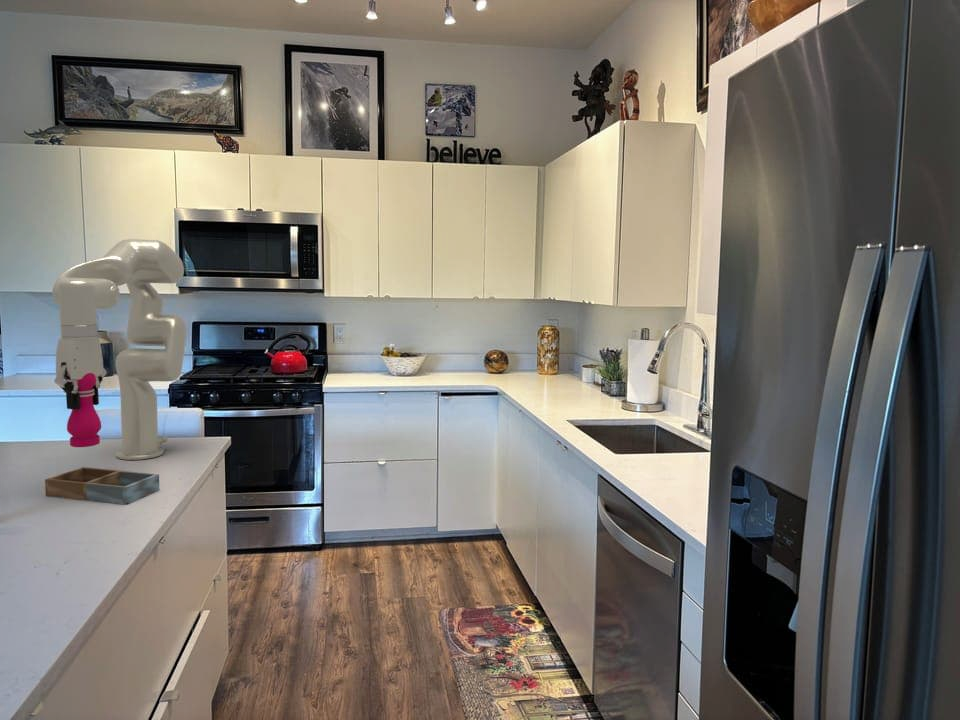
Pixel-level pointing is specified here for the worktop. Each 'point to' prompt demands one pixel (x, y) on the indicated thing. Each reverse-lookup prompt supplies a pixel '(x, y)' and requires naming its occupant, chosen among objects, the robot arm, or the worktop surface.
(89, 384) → the pepper mill
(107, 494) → the organizer
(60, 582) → the worktop surface
